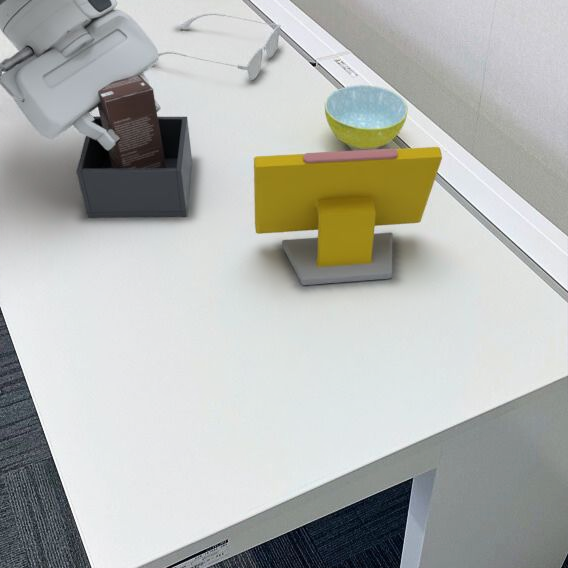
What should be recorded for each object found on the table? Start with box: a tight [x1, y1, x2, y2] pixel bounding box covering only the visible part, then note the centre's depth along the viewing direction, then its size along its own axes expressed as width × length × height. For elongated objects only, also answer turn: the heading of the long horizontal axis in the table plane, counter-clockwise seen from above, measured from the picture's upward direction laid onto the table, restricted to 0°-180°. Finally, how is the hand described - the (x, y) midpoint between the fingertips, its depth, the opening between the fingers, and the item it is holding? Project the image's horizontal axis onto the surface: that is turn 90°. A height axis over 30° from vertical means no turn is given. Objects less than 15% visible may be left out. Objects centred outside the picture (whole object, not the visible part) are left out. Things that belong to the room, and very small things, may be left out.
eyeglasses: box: [158, 13, 282, 81], centre depth 124 cm, size 15×18×4 cm
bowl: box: [324, 84, 409, 151], centre depth 108 cm, size 11×12×6 cm
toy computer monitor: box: [253, 146, 443, 286], centre depth 87 cm, size 20×8×16 cm, turn 100°
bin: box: [75, 115, 193, 218], centre depth 98 cm, size 12×12×7 cm
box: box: [97, 75, 166, 169], centre depth 95 cm, size 6×4×12 cm
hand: (135, 129), depth 94 cm, fingers closed on box, 7 cm apart
